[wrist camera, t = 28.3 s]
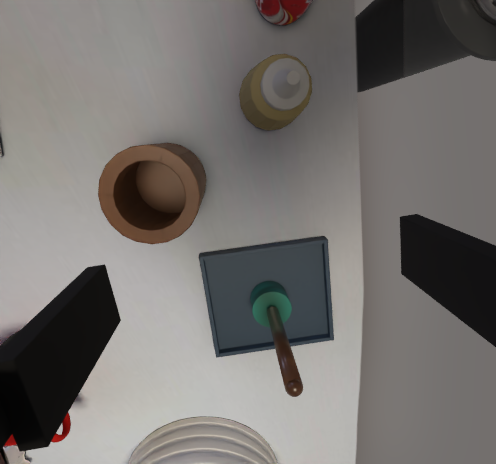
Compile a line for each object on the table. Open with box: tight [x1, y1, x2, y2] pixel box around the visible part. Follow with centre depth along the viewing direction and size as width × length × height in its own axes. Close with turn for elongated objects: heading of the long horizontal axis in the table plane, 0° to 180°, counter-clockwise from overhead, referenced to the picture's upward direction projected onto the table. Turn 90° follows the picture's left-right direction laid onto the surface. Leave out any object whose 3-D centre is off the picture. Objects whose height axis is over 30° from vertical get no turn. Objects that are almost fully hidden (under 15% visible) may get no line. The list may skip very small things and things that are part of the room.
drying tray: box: [199, 236, 334, 357], centre depth 54 cm, size 19×17×2 cm
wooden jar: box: [98, 143, 206, 244], centre depth 42 cm, size 10×10×14 cm
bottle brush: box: [250, 281, 303, 397], centre depth 44 cm, size 6×6×21 cm
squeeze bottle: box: [239, 54, 312, 130], centre depth 38 cm, size 8×8×18 cm
